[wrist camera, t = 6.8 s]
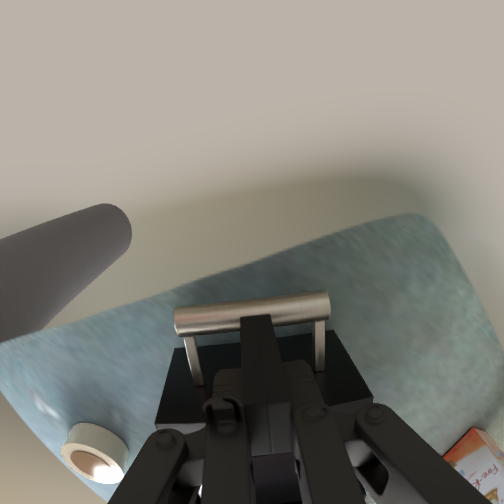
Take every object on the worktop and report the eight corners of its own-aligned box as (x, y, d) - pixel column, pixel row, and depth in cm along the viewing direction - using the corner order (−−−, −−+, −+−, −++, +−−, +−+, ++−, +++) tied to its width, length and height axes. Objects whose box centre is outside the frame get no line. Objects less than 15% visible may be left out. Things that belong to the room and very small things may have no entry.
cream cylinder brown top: (85, 460, 26) (77, 479, 23) (60, 419, 24) (49, 439, 21) (137, 465, 26) (132, 487, 23) (116, 424, 25) (107, 447, 22)
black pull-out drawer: (160, 282, 20) (125, 343, 13) (333, 262, 21) (383, 312, 13) (205, 456, 25) (202, 524, 17) (328, 441, 25) (350, 505, 18)
